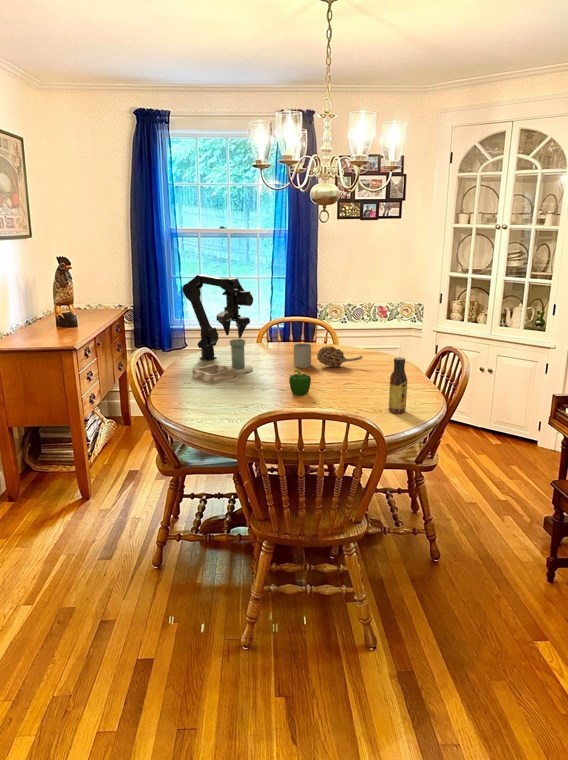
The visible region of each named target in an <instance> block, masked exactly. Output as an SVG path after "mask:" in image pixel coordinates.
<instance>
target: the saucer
mask: <svg viewBox="0 0 568 760" xmlns="http://www.w3.org/2000/svg"><path fill="white" fill-rule="evenodd" d="M228 367H231V368H232V365H229V366H228ZM253 368H254V367H253V366H252V365H250V364H245V368H244V369H239V370H236V371H237V373H243V374H247V373H246V372H249V373H251V372H253V370H254V369H253ZM250 371H251V372H250Z"/></svg>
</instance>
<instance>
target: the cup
mask: <svg viewBox="0 0 568 760" xmlns="http://www.w3.org/2000/svg"><path fill="white" fill-rule="evenodd" d="M294 366H295V368H297V367H299V369H307V368H306V367H308V368H310V366H311V367H312V344H310V343H295V344H293V367H294Z"/></svg>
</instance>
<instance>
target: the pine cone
mask: <svg viewBox="0 0 568 760" xmlns="http://www.w3.org/2000/svg"><path fill="white" fill-rule="evenodd" d="M363 357H364V356H363V355H360V356H357V357H352V358H346V357H345V355H344V351H342V349H340V348H336V347H334V346H333V345H332V346H323V347H321V348H320V349H318V352H317V353H316V359H317V360H318V362H319V363H321V364H322V365H324V366H326V367H327V366H328V367H330V368H332V367H334V368H336V367H338V368H341V366H342V364H343V363H345V362H354V361H359V360H362V359H363Z"/></svg>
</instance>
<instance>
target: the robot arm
mask: <svg viewBox="0 0 568 760" xmlns="http://www.w3.org/2000/svg"><path fill="white" fill-rule="evenodd" d="M204 284H205V285H207V286H208V285H210V286H214V287H218V288H220V289H222V290H224V291H223V293H222V296H226V297H225V300H226V303H225V304H226V306H224V308H223V309H224V310H223V311H220V313H217V314H216V317H215V318H216V321H217V322H218V323H219V324H221V326H222V327H223V331H224V332H225V336H229V334H230V329H231V324H232V323H231V322H235V326H236V328H237V336H238V339H242V336H243V333H245V330H246V328H247V326H248V325H249V324H251V319H250V317H247V316H241V314H239V310H241V306H243V307H251V306H252V305H253V303H254V297H253V295H252V294H251V291H250V290H248V291H247V290H246V291H245V289H244V288H243V286H242V284H241V282H240V281H239V279H238V278H236V277H228V278H227V277H226V278H222V277H217V276H212V275H206V274H203V273H202V274H197V275H196V276H194V277H193V278H192V279H191V280H189V281H188V282H187V283H185V284H183V286H182V293H183V296H184V297H185V298H186V299H187V300H188V301H189V302H190V304H191V306H192V309H193V311H194V314H195V317H196V319H197V321H198V322H197V323H198V324H199V327H200V340H199V342H198V343H197V347H198V349H200V351H201V353H200V354H201V356H200V357H198V358H200V360H203V359H205V360H204V361H210V360H209V359H211V360H214V359H213V358H215V359H217V358H218V357H216V356H215V349H214V348H215V347H216V346H217V342H219V333H218V331H217V328H216V327H212V326H211V323H210V321H209V318H208V316H207V313H206V310H205V308H204V305H203V303H202V301H201V294H202V293H201V289H202V287H204Z"/></svg>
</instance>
